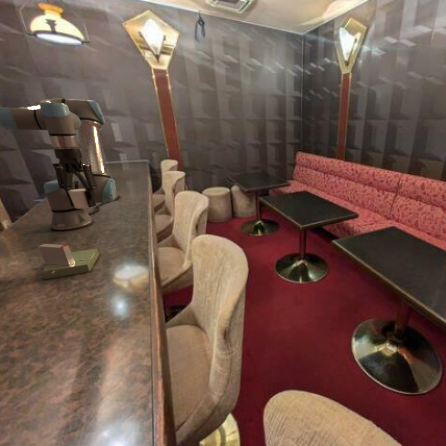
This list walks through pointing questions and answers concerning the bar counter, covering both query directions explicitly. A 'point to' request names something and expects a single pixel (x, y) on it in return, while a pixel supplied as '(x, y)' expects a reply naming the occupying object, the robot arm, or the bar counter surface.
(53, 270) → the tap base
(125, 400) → the bar counter surface
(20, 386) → the bar counter surface
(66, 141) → the robot arm
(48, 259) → the white flat box
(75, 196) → the white cylinder
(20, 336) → the bar counter surface
